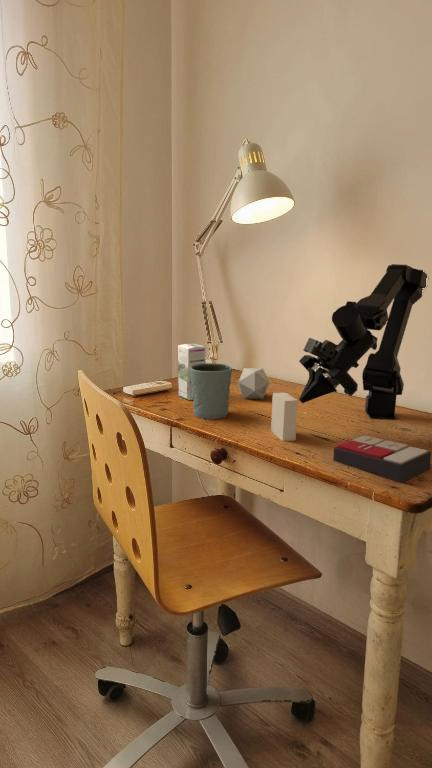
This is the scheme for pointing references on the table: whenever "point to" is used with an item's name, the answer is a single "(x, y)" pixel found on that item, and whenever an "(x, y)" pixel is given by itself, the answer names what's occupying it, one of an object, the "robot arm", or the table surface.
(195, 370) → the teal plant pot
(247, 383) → the die
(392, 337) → the robot arm
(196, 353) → the syrup box
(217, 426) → the table surface
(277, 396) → the white box grey panel
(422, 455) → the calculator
